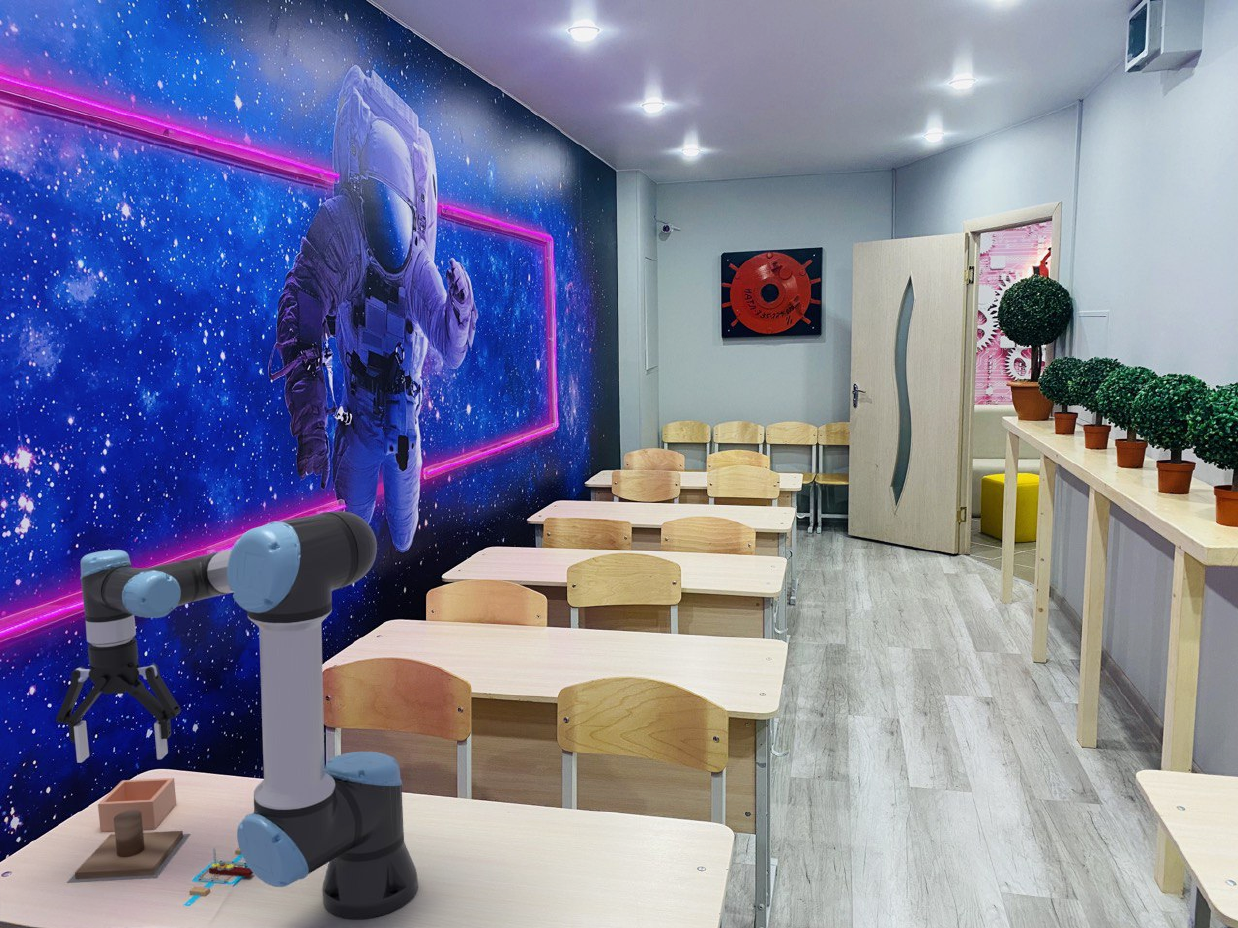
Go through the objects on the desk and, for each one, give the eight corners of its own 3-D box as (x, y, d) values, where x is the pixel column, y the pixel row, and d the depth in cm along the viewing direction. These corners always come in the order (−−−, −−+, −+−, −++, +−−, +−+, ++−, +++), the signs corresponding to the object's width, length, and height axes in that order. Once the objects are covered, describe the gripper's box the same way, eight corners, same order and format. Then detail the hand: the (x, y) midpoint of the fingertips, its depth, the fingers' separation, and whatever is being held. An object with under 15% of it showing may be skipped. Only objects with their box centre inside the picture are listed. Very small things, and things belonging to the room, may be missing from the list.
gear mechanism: (283, 851, 175) (236, 847, 177) (281, 822, 174) (234, 818, 176) (217, 914, 156) (165, 909, 157) (214, 882, 155) (162, 877, 157)
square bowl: (155, 831, 182) (152, 801, 181) (100, 834, 182) (97, 804, 181) (176, 806, 192) (174, 777, 191) (124, 809, 192) (122, 780, 191)
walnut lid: (153, 874, 166) (149, 832, 165) (75, 879, 165) (71, 836, 164) (183, 836, 179) (179, 797, 178) (111, 840, 178) (107, 800, 177)
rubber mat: (157, 880, 165) (156, 877, 165) (66, 885, 164) (66, 882, 164) (191, 836, 180) (190, 833, 180) (108, 840, 179) (108, 837, 179)
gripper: (194, 631, 172) (203, 745, 174) (49, 636, 171) (61, 751, 173) (177, 644, 164) (187, 763, 167) (25, 649, 163) (38, 770, 166)
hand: (123, 757), depth 170 cm, fingers open, 13 cm apart
